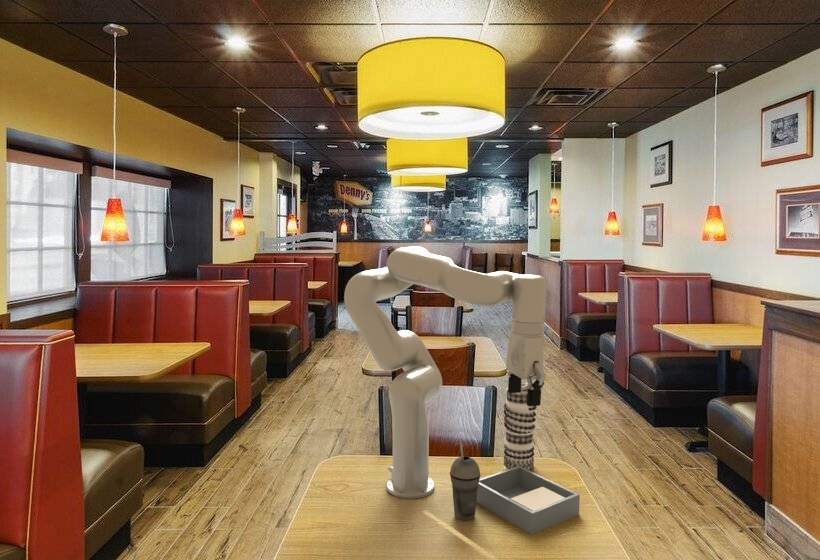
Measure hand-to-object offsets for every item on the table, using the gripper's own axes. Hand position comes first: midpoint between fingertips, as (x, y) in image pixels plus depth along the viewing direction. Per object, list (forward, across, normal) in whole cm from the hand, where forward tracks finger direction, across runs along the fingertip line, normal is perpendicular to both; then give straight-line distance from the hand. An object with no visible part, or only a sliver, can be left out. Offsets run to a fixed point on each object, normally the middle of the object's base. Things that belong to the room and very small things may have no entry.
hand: (523, 398), depth 142 cm
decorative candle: (+29, -23, +12) cm, 39 cm away
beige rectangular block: (+28, +3, +4) cm, 28 cm away
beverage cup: (+30, -1, -13) cm, 32 cm away
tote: (+29, -1, +2) cm, 29 cm away
